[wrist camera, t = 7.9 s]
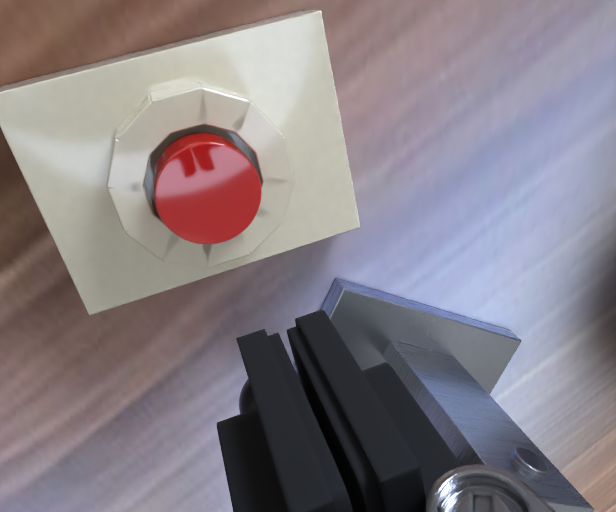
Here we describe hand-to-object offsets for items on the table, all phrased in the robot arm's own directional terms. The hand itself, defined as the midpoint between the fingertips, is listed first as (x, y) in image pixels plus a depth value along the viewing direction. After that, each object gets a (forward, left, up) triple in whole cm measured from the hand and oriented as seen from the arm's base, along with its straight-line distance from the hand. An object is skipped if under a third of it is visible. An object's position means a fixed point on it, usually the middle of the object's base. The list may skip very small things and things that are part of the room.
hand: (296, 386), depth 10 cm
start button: (0, +1, -12) cm, 12 cm away
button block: (0, +1, -15) cm, 15 cm away
